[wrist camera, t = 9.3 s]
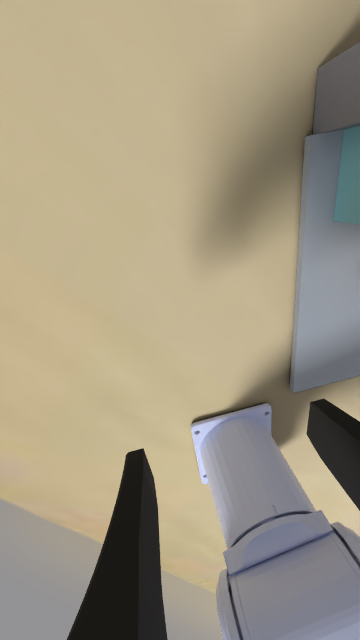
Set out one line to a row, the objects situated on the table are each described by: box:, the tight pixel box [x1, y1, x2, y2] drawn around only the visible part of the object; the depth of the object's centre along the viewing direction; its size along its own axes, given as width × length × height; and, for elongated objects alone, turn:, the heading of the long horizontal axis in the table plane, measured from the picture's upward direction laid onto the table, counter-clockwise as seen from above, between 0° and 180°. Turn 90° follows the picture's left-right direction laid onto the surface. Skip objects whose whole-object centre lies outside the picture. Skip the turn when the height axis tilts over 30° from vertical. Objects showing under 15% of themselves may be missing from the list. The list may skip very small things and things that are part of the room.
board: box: [290, 129, 360, 393], centre depth 20 cm, size 20×10×1 cm, turn 9°
